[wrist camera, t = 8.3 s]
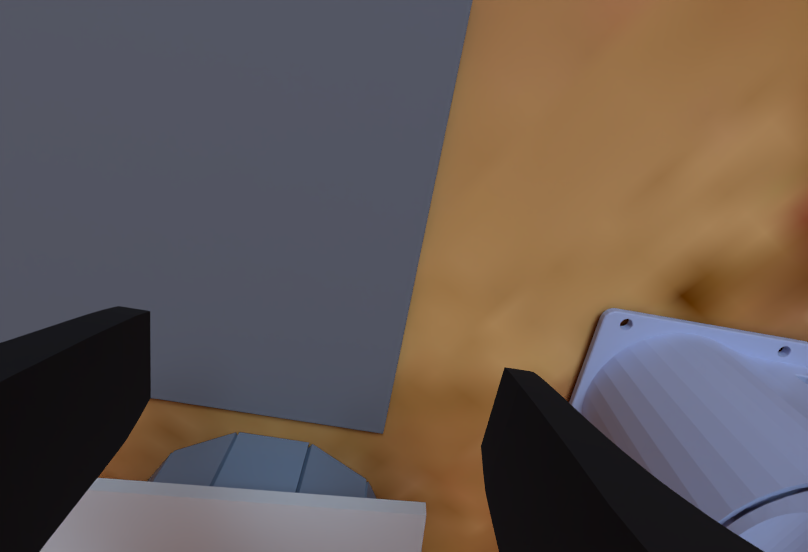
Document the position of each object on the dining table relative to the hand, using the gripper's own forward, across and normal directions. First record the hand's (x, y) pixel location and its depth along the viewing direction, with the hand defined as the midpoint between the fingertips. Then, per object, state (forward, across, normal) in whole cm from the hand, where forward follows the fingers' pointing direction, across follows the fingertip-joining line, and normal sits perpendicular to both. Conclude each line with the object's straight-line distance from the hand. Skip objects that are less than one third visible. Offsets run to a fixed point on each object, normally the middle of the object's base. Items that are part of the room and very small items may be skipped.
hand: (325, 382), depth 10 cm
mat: (+10, +7, 0) cm, 12 cm away
